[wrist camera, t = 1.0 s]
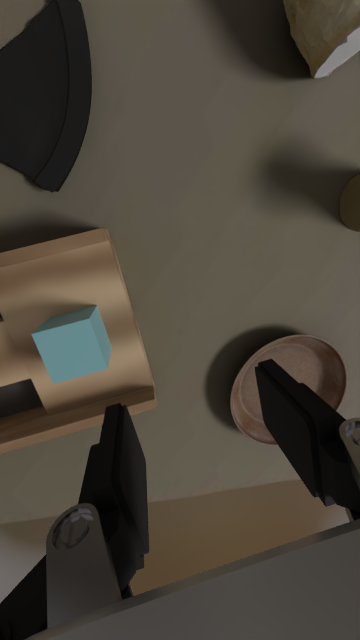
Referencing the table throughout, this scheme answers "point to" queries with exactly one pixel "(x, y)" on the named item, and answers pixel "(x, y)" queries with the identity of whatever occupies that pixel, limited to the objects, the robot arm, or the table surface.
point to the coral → (324, 32)
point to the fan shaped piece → (46, 95)
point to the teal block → (73, 344)
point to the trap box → (52, 300)
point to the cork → (351, 204)
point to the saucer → (303, 365)
